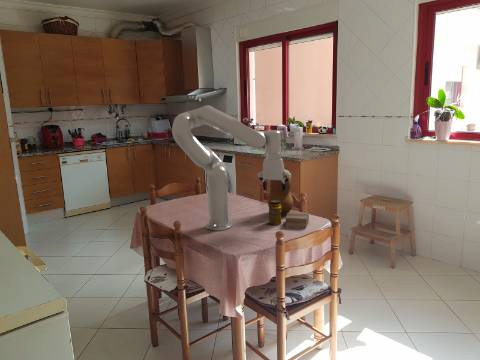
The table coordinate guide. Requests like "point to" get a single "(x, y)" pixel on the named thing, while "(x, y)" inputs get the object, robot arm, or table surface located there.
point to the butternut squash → (281, 194)
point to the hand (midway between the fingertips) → (274, 190)
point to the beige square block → (297, 219)
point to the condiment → (274, 214)
